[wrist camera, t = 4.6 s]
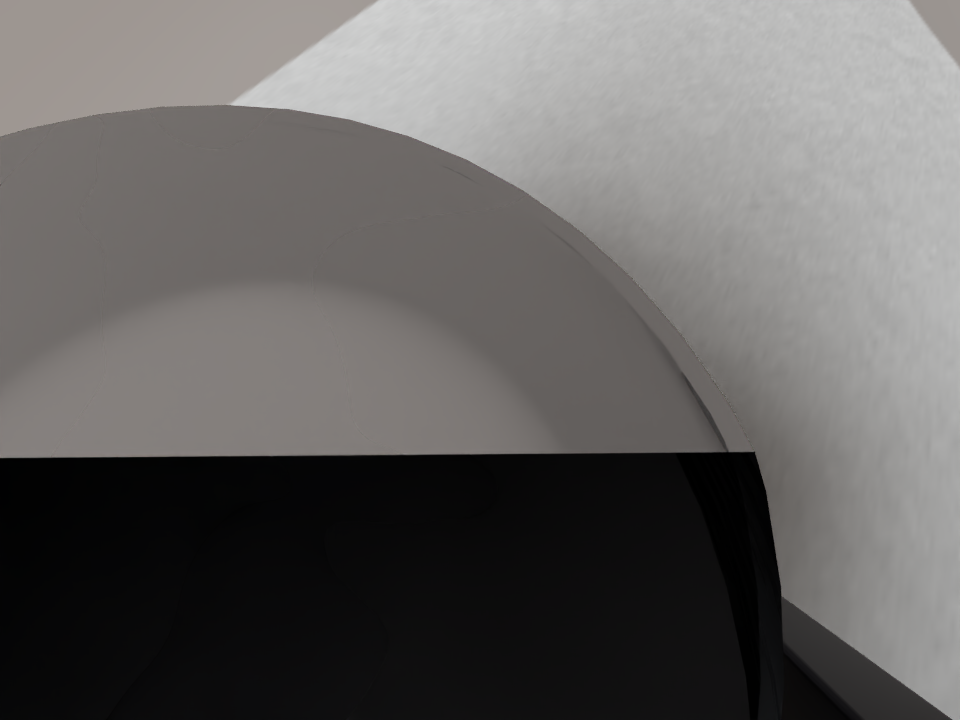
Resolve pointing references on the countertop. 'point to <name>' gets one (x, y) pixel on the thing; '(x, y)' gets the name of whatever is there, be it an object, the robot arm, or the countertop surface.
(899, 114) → the countertop surface
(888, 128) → the countertop surface
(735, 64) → the countertop surface
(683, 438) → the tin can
